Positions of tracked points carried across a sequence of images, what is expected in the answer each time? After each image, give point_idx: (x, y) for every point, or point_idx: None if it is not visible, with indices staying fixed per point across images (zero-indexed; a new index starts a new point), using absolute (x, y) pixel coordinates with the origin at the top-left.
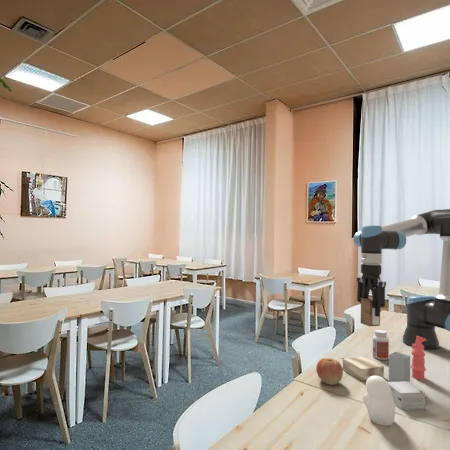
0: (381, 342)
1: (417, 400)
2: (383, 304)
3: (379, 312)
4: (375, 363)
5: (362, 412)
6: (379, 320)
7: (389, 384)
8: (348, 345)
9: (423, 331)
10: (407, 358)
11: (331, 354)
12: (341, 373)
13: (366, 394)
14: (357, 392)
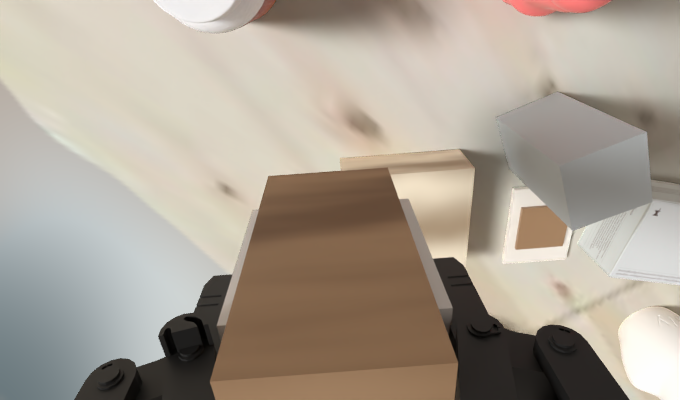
0: (263, 5)
1: None
2: (582, 370)
3: (473, 294)
4: (436, 184)
5: (597, 345)
6: (395, 194)
7: (624, 278)
8: (7, 33)
9: None
10: (645, 163)
11: (174, 213)
12: None
13: (652, 393)
14: (513, 303)
